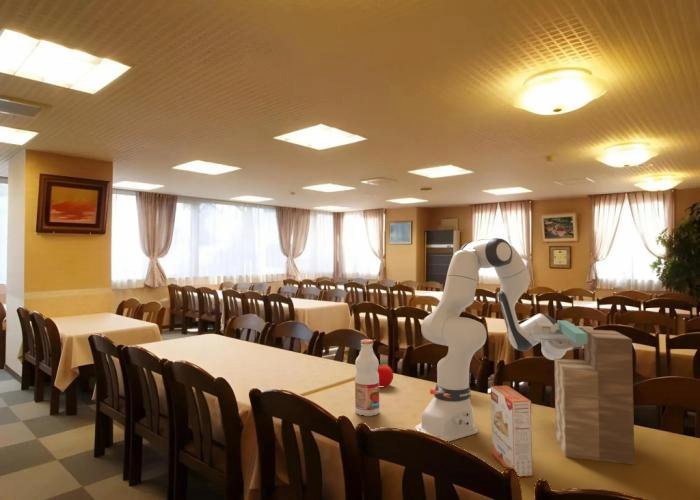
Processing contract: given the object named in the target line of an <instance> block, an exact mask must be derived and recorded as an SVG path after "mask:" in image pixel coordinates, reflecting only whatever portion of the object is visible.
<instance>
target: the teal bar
mask: <svg viewBox="0 0 700 500" xmlns="http://www.w3.org/2000/svg"><path fill="white" fill-rule="evenodd" d="M556 323H560V327H561V328H560V331H561V332H562V333H564V334H565V335H566V336H567V337H568V338H570V339H571V340H572V341H573V342H575V343H577V344H587V334H586V333H585V332H583V331H582V330H580V329H579V328H577V327H576V325H575V324H574V323H571V322H570V321H568V320H564V319H563V320H562V319H561V320H560V319H558V320H557V321H556ZM573 324H574V325H573Z"/></svg>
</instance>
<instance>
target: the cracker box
mask: <svg viewBox="0 0 700 500" xmlns="http://www.w3.org/2000/svg"><path fill="white" fill-rule="evenodd" d="M490 404H491V406H490V409H491V410H490V411H491V412H490V414H491V453H492V455H493V456H494V457H495V459H497V460H498V461H499V463H500V464H501V465H502V466H503V467H504V468H505V467H513V468H514V469H515V470H516V472H517V473H518V476H519V477H518V478H521V477H522V478H524V477H523V476H525V477H533V476H534V475H533V474H534V473H533V472H534V471H533V467H534V466H533V433H532V432H533V431H532V429H533V428H532V427H533V426H532V422H533V421H532V401H531V400H530V399H529V398H527V397H526V396H524V395H522V394H521V393H520V392H518V391H516V390H515V389H514V388H512V387H510V386H509V385H493V386H490Z"/></svg>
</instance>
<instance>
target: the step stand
mask: <svg viewBox="0 0 700 500" xmlns="http://www.w3.org/2000/svg"><path fill="white" fill-rule="evenodd" d="M584 332H585V333H586V334H587V344H584V348H583V359H572V358H569V359H568V358H560V359H557V358H554V360H553V363H554V401H555V402H554V412H555V413H554V415H555V418H554V419H555V421H554V422H555V438H556V440H557V443H558V444H559V446H560V448H561V450H562V452H563V454H564V456H565V458H572V459H580V460H590V461H601V462H607V463H608V462H609V463H618V464H619V463H620V464H625V465H626V464H627V465H635V426H634V425H635V423H634V421H635V419H634V418H635V417H634V376H633V375H634V373H633V372H634V371H633V370H634V369H633V368H634V367H633V339H632V338H630V337H628V336H626V335H625V334H622V333H620V332H618V331H616V330H611V329H610V330H609V329H608V330H606V329H593V330H584Z"/></svg>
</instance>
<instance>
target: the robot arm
mask: <svg viewBox="0 0 700 500" xmlns="http://www.w3.org/2000/svg"><path fill="white" fill-rule="evenodd" d="M491 268H493V269H494V270H495V272H496V275H497V277H498V279H499V284H500V290H499V291H498V293H497V294H498V295H497V296H498V298H497V299H498V302H499V307H500V310H501V314H502V316H503V321H504V324H505V326H506V327H505V328H506V331H507V338H508V341H509V343H510V344H511V346H512V347H513V349H515V350H516V351H520V352H528V351H530V350H531V349H532V348H534V346H536V345H537V344H541V353H542V355H543V357H545V359H547V360H549V361H554V358H557V359H563V357H564V356H565V355H566V354H567V351H571V350H572V351H573V350H580V349H584V344H577V343H575V342H573V341H572V340H571V339H570V338H568V337H567V336H566V335H565V334H564V333H562V332H561V331H560V328H561V327H560V323H557V321H556V320H555V319H554V318H553V317H552V316H550V315H548V314H545V313H540V312H539V313H537V314H535V315H533V316H531V317H530V318H528V319H526V320H525V321H523V322H521V323H519V320H518V317H517V313H516V309H515V306H516V304H517V302H518V301H519V299H520V298H521V297H522V295H523V294H524V293H525V292H526V291H527V289H528V287H529V285H530V282H531V275H530V271H529V269H528V268H527V265H526V263H525V261H524V260H523V259H522V256H521V255H520V254H519V252H518V250H517V249H516V248H515V247H514V246H513V245H511V244H510V243H509V242H508V241H507V240H506V239H503V238H501V237H499V238H498V237H494V238H482V239H477V240H474V241H472V240H471V241H468V242H466V243H464V244H463V245H462V246H461V247H460V249H459V250H457V251H455V252H454V254H453V255H452V257H451V260H450V263H449V265H448V269H447V273H446V278H445V284H444V288H443V291H442V292H443V293H442V295H441V299H440V300H439V302H438V304H437V305H436V307H435V308H434V310H433V311H432V312H431V313H430V314H428V315H427V316H425V317H424V318H423V320H422V322H421V326H420V327H421V329H420V330H421V335H422V336H423V338H424V339H426V340H427V341H429V342H432V343H434V344H435V345H441V346H446V347H448V351H447V354H446V356H444V357H442V358H441V359H440V360H439V361H438V362H437V366H436V372H437V373H436V377H437V378H436V379H437V382H436V384H435V388H433V387H431V388H430V389H429V394H430V395H433V398H432V399H431V400H430V402H429V404H427V406H426V407H425V408H424V410H423V411H422V414H421V422H420V423H417V424H416V425H415V426H414V431H415V430H417V431H421V432H424V433H427V434H430V435H433V436H436V437H439V438H441V439H444V440H446V441H448V442H452V441H455V440H458V439H462V438H465V437H469V436H471V435H472V436H473V435H475V434H478V428H477V427H476V426H475V415H474V408H473V405H472V403H471V399H470V398H471V394H472V392H471V386H470V364H471V361H472V359H473V356H474V355H475V354H476V352H477V351H479V350H480V349H481V348H483V346H484V345H485V344H486V341H487V336H488V335H487V330H486V327H485V325H484V324H483V322H480V321H478V320H476V319H472V318H470V317H463V316H460V315H461V314H462V313H463V311H464V310H465V309H466V308H468V307H470V306H472V305H473V303H474V301H475V297H476V290H477V285H478V284H477V283H478V278H479V271H480V269H491ZM572 324H573V325H574V326H576V325H575V323H572ZM576 327H577V328H579V329H580V330H582V331H583V332H584V330H594V327H592V326H581V325H580V326H578V325H577V326H576ZM448 442H447V443H448Z"/></svg>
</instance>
